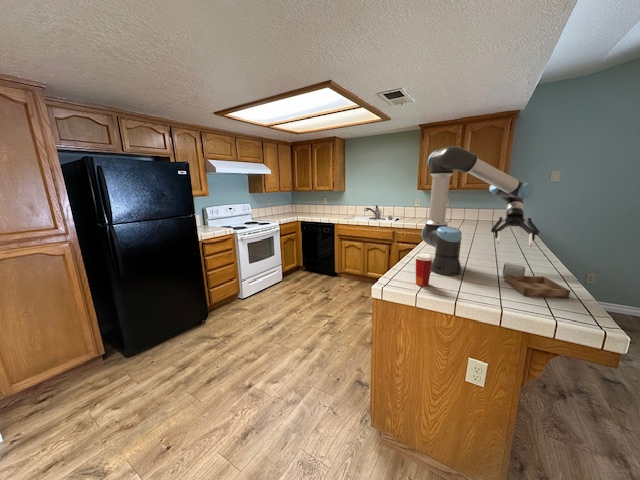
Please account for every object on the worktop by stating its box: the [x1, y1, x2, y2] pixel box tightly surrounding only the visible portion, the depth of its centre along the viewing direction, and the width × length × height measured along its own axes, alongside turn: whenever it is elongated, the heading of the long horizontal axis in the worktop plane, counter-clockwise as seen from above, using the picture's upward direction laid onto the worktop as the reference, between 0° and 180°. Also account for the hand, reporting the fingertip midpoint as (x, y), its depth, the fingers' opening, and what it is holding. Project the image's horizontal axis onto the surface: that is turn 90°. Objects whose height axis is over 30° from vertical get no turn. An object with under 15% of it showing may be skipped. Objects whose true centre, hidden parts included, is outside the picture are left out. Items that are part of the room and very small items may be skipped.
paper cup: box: [414, 253, 434, 287], centre depth 119 cm, size 8×8×14 cm
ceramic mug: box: [501, 262, 526, 279], centre depth 127 cm, size 11×8×8 cm
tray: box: [504, 275, 571, 299], centre depth 112 cm, size 16×16×4 cm
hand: (513, 243), depth 132 cm, fingers open, 13 cm apart
